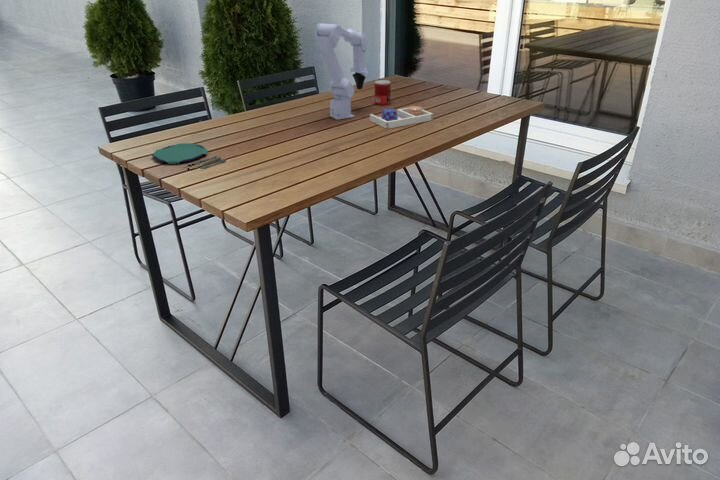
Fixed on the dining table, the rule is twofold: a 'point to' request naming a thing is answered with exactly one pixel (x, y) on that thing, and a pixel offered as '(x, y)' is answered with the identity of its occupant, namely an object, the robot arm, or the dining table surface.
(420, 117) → the serving frame
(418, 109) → the ramekin
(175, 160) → the cutlery set
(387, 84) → the canned food
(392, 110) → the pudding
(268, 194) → the dining table surface
